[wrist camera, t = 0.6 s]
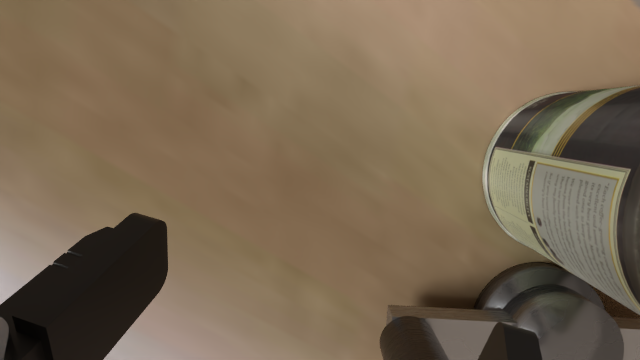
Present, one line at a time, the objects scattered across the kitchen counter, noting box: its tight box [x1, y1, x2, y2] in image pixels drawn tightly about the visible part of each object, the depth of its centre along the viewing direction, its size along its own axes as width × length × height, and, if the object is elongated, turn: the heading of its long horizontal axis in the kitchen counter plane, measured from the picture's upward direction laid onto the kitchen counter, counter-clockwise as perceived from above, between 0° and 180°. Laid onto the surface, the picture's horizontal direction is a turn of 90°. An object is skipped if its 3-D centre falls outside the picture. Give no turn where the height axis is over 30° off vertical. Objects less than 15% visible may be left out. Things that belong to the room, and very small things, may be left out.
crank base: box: [474, 262, 605, 311], centre depth 29 cm, size 8×8×2 cm
